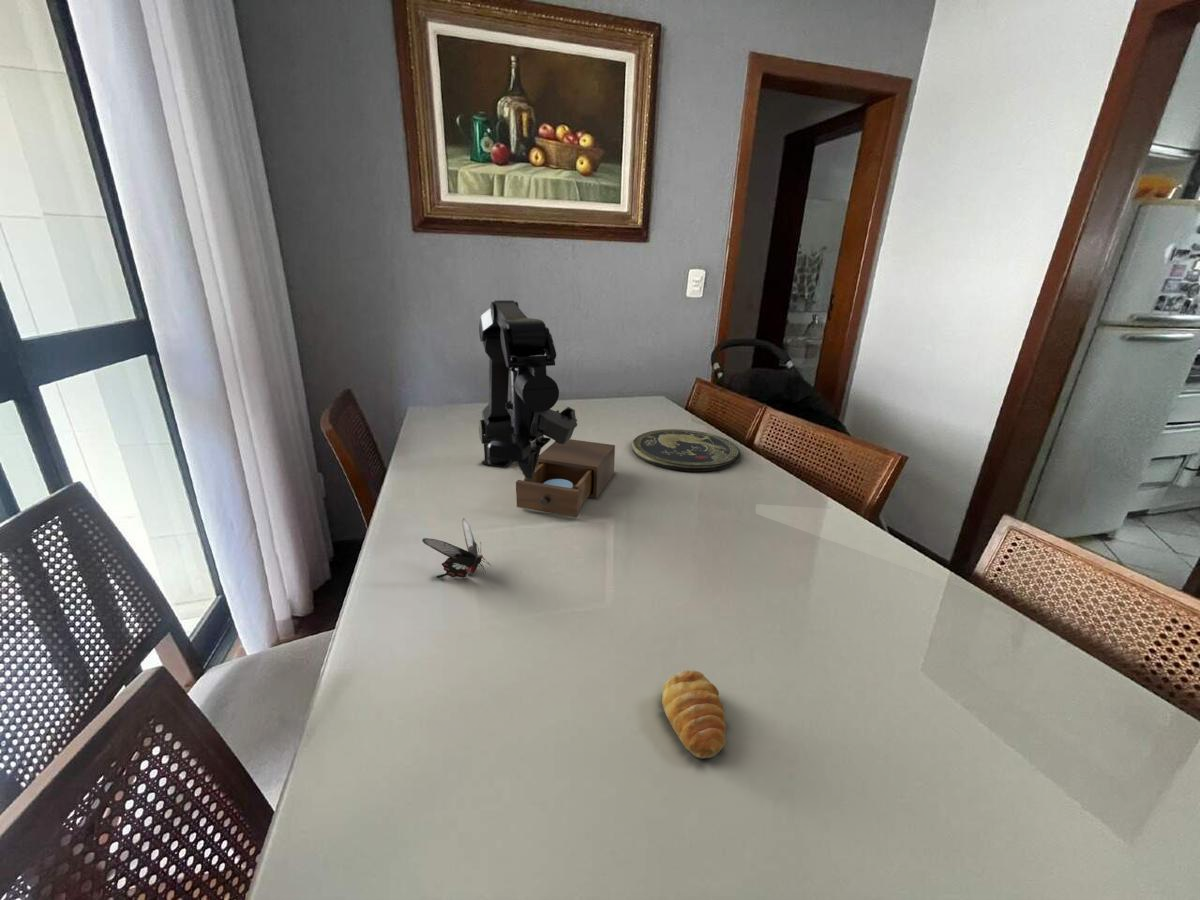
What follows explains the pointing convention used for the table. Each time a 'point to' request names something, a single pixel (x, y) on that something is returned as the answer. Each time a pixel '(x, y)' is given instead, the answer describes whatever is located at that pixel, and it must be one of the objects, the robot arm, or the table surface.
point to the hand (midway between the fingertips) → (529, 478)
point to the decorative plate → (686, 450)
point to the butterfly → (458, 554)
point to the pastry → (695, 713)
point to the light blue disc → (559, 483)
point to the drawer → (555, 489)
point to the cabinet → (583, 459)
